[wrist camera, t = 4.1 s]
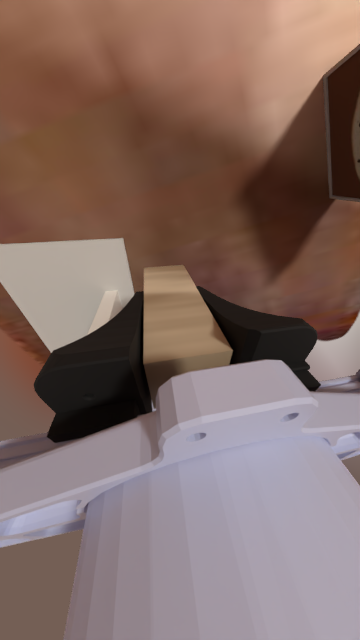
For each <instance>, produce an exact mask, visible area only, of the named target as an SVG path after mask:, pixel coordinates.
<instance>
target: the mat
mask: <svg viewBox="0 0 360 640" xmlns="http://www.w3.org/2000/svg"><path fill="white" fill-rule="evenodd" d="M0 282H1V283H2V285H3V286H4V288H5V289H6V290H7V292H8V293H9V295H10V296H11V297H12V299H13V300H14V302H15V303H16V304H17V306H18V307H19V309H20V310H21V311H22V313H23V314H24V316H25V317H26V318H27V320H28V321H29V323H30V324H31V325H32V327H33V328H34V330H35V331H36V332H37V334H38V335H39V337H40V338H41V339H42V341H43V342H44V344H45V345H46V346H47V348H48V349H49V350H50V352H51V353H52V352H53V350H56V349H58V348H60V347H63V346H65V345H67V344H70V343H72V342H74V341H76V340H78V339H80V338H82V337H84V336H86V335H87V334H88V332H89V329H90V327H91V325H92V322H93V320H94V317H95V315H96V313H97V310H98V308H99V305H100V303H101V301H102V298H103V296H104V293H105V291H115V290H118V294H119V297H120V301H121V305H122V309H123V308H124V307H125V306H126V305H127V303H128V302H129V301H130V300H131V298H132V297H133V296H134V289H133V284H132V279H131V274H130V269H129V264H128V259H127V255H126V250H125V245H124V240H123V238H117V239H97V240H77V241H57V242H37V243H17V244H0Z"/></svg>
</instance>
